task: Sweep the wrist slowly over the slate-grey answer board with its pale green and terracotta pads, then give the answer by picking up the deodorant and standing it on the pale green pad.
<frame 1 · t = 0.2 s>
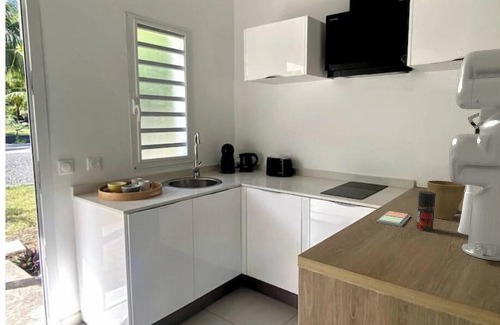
hand: (493, 139, 122), 37 cm above the counter, tool pointing down, fingers open, 9 cm apart
deodorant: (424, 229, 131), on the counter
plant pot: (443, 217, 148), on the counter
answer board: (393, 219, 144), on the counter
cosmetic bottle: (466, 233, 127), on the counter
canned tomato: (448, 211, 159), on the counter
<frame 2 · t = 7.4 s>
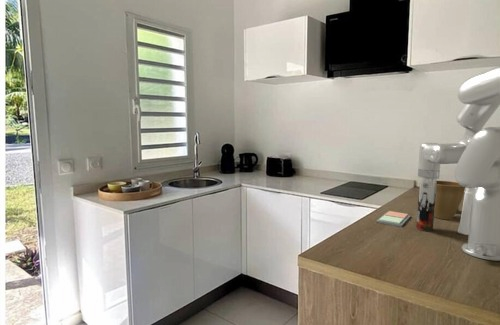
hand: (425, 217, 131), 5 cm above the counter, tool pointing down, fingers closed on deodorant, 5 cm apart
deodorant: (424, 229, 131), on the counter, touching gripper
everything else where it was.
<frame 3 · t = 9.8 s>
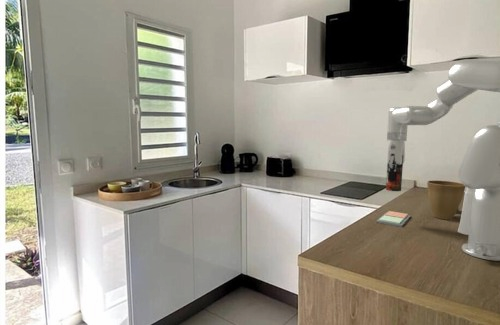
hand: (394, 179, 138), 19 cm above the counter, tool pointing down, fingers closed on deodorant, 5 cm apart
deodorant: (393, 190, 139), point 14 cm above the counter, touching gripper
everything else where it was.
when the fingers open (7 cm above the counter, at t = 12.3 s): deodorant stays where it is, resting on answer board.
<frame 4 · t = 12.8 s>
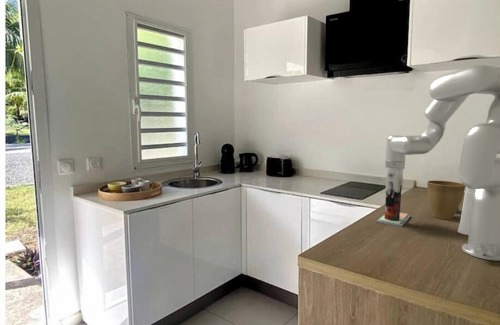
hand: (392, 204, 139), 8 cm above the counter, tool pointing down, fingers open, 9 cm apart
deodorant: (391, 219, 140), point 1 cm above the counter, touching answer board
everything else where it was.
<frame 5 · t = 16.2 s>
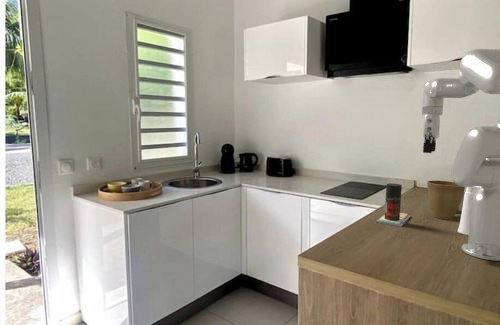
hand: (429, 152, 139), 30 cm above the counter, tool pointing down, fingers open, 9 cm apart
nothing on the counter moved.
at the end: deodorant inside the target area (0.2 cm from its centre), point 1.2 cm above the counter; deodorant tilted 0°; the gripper is holding nothing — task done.
